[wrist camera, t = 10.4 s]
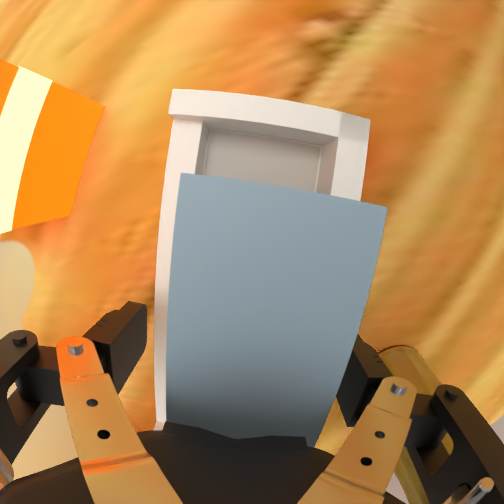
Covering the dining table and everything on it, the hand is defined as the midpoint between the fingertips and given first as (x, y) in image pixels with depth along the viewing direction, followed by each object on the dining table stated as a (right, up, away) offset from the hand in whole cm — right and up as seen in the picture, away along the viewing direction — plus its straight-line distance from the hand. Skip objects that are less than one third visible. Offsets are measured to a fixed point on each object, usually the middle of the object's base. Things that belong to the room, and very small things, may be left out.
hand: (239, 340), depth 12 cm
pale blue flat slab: (0, +1, +5) cm, 5 cm away
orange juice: (-14, +11, +4) cm, 18 cm away
